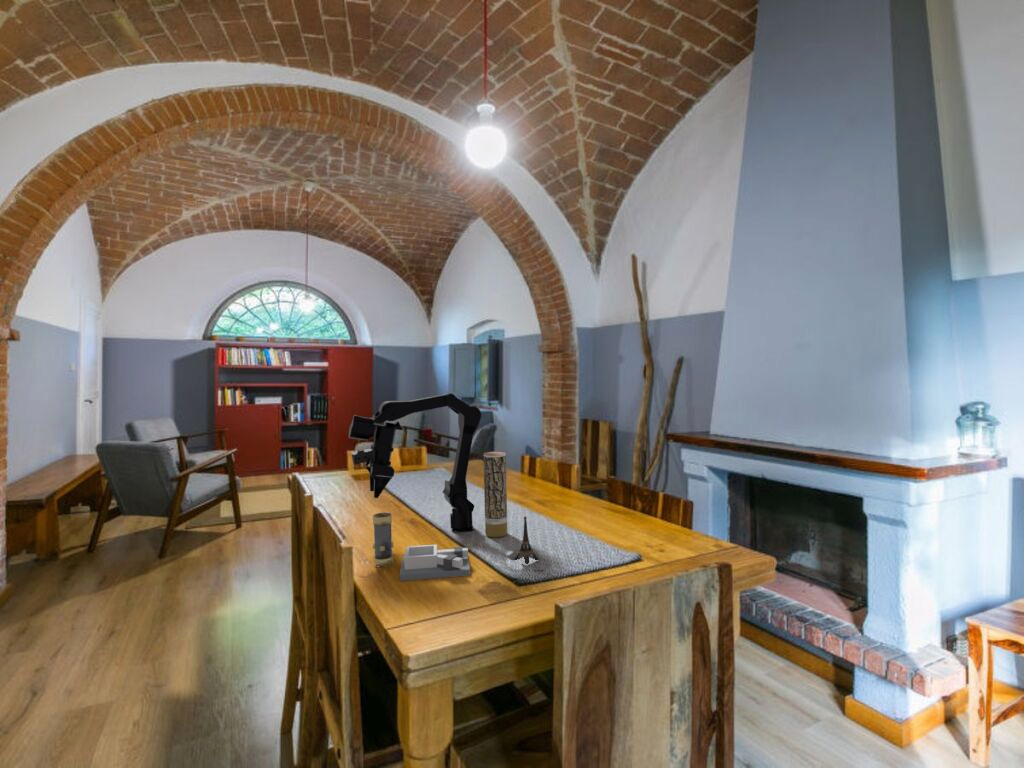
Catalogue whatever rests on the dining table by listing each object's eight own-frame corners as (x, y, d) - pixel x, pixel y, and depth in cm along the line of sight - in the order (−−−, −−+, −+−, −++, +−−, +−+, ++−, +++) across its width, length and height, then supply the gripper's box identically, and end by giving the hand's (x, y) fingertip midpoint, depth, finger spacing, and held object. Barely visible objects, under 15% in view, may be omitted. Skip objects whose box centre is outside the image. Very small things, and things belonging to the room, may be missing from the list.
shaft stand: (466, 554, 140) (466, 538, 140) (470, 576, 125) (469, 558, 125) (403, 559, 137) (403, 543, 137) (399, 582, 123) (399, 563, 123)
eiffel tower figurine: (505, 552, 142) (503, 505, 142) (541, 551, 143) (540, 504, 142) (505, 574, 127) (504, 521, 127) (545, 573, 128) (544, 520, 127)
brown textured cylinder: (504, 538, 152) (503, 455, 151) (482, 537, 153) (480, 455, 153) (509, 531, 159) (507, 451, 158) (488, 530, 160) (486, 451, 159)
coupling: (394, 559, 138) (393, 511, 137) (393, 566, 132) (391, 517, 132) (374, 560, 137) (373, 513, 136) (372, 568, 132) (370, 518, 131)
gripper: (353, 435, 158) (343, 485, 157) (359, 443, 141) (348, 499, 140) (388, 440, 162) (379, 488, 162) (399, 448, 145) (388, 502, 144)
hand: (373, 494), depth 152 cm, fingers open, 9 cm apart
